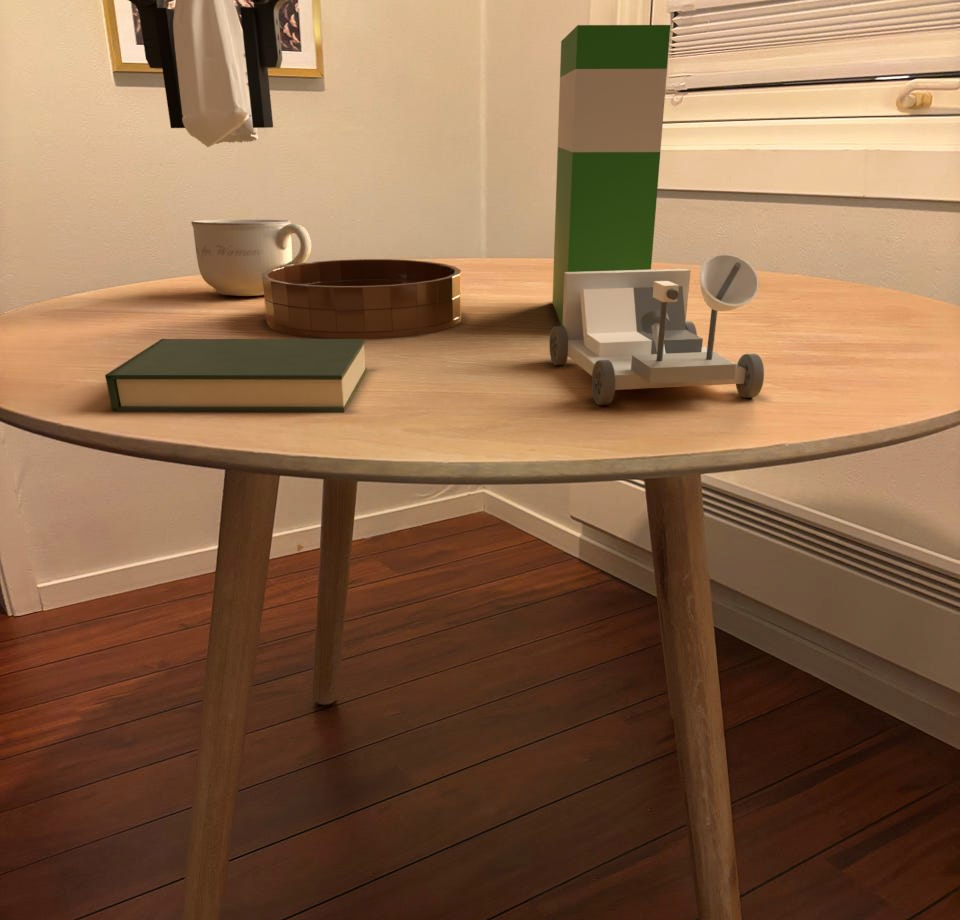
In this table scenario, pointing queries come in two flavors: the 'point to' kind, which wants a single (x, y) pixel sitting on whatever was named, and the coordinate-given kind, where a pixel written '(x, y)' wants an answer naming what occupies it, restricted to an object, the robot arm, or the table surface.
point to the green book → (239, 376)
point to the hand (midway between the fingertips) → (222, 127)
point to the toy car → (653, 328)
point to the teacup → (245, 252)
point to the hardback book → (608, 149)
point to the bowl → (362, 298)
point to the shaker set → (212, 71)
